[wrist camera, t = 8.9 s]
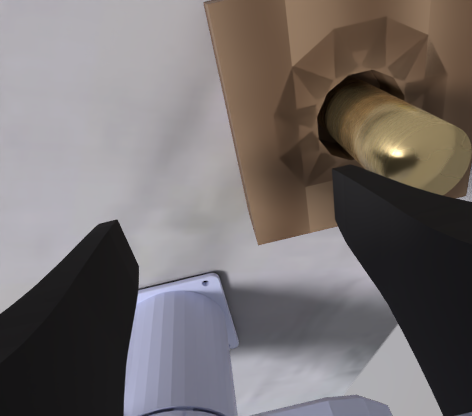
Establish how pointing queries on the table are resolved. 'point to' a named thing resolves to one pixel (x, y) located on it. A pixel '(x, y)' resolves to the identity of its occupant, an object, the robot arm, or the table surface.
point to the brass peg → (395, 137)
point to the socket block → (328, 89)
